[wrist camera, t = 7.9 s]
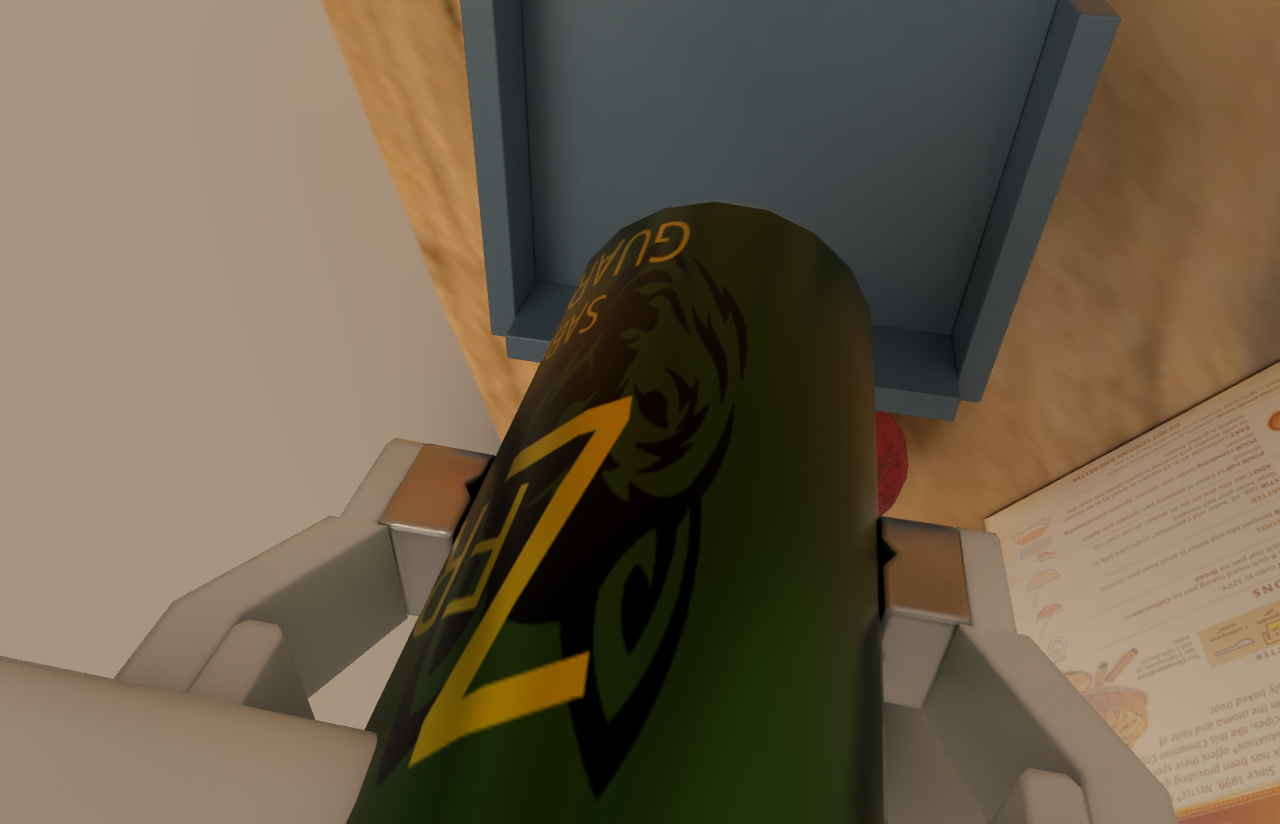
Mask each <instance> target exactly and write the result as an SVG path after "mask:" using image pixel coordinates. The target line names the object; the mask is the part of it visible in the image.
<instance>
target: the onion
mask: <svg viewBox="0 0 1280 824" xmlns="http://www.w3.org/2000/svg"><path fill="white" fill-rule="evenodd" d="M875 418H876V452H877V485H878V517H879V516H882V515H883V514H884V513H885V512H886V511H888V510H889V509H890V508H891V507H892V505H893V504H894V503H895V501H896V499H897V497H898V495H899V493H900V491H901V489H902V486H903V484H904V482H905V480H906V478H907V470H908V459H907V449H906V442H905V438H904V434H903V431H902V429H901V428H900V427H899V426H898V424H897V423H896V422H895V420H894V419H893V418H892V417H891V415H890V414H889V413H888V412H883V411H876V410H875Z"/></svg>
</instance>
